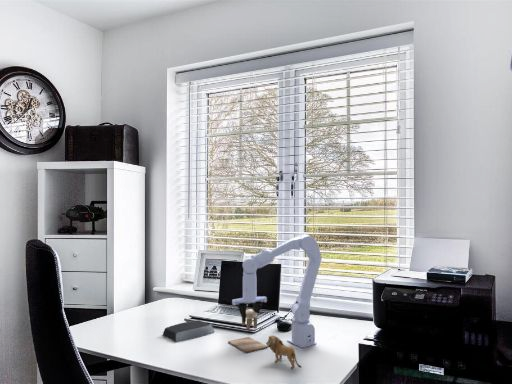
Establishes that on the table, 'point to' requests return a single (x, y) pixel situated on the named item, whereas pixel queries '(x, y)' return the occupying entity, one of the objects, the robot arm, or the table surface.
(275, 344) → the lion figurine
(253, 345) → the walnut mat
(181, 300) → the table surface
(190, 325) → the external hard drive
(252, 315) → the birch stool
